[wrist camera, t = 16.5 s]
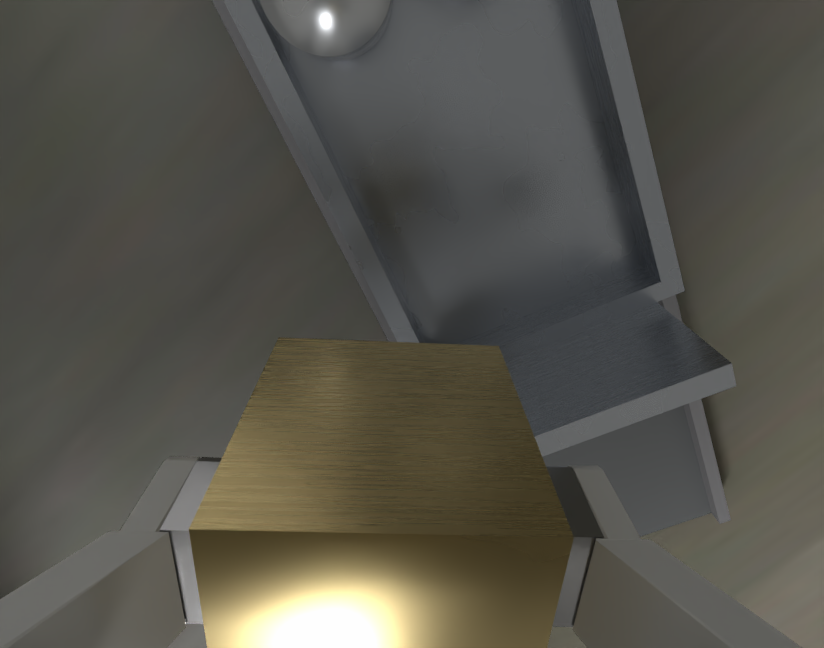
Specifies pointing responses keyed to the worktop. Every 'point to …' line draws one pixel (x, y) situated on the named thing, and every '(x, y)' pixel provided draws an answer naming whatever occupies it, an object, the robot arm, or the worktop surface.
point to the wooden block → (381, 505)
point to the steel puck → (330, 25)
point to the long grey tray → (503, 199)
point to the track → (613, 452)
